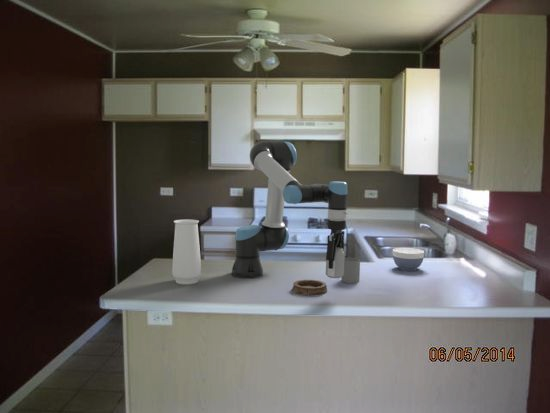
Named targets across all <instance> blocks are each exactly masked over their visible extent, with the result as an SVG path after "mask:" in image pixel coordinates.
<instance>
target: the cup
mask: <svg viewBox="0 0 550 413" xmlns="http://www.w3.org/2000/svg"><path fill="white" fill-rule="evenodd" d="M360 270H361V259H360V258H356V257H344V275H343V276H342V277H341V278H340V279H341V282H342V283H347V284H358V283H360V277H361V276H360V275H361V274H360V273H361V272H360Z"/></svg>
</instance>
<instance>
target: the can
mask: <svg viewBox="0 0 550 413" xmlns="http://www.w3.org/2000/svg"><path fill="white" fill-rule="evenodd" d="M326 254H327V251H326ZM326 254H325V255H326ZM344 258H345V250H344V251H343V248H339V247H336V253H335V258H334V261H335V276H334V277H333V276H328V260H326V259H325V276H327V278H330V279H342V276H343V275H344Z"/></svg>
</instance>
